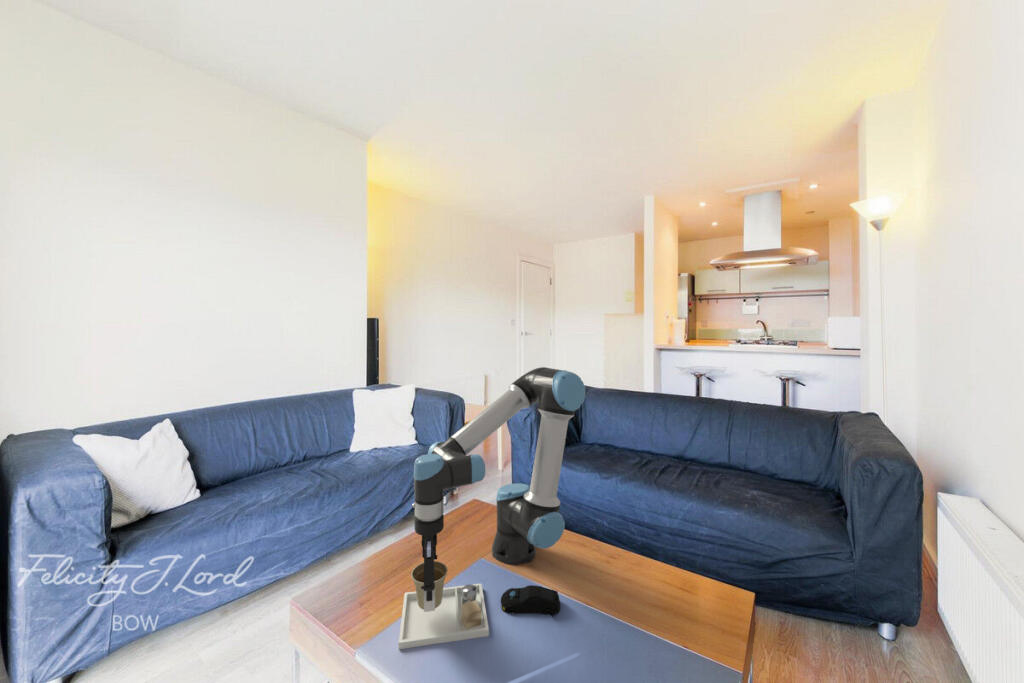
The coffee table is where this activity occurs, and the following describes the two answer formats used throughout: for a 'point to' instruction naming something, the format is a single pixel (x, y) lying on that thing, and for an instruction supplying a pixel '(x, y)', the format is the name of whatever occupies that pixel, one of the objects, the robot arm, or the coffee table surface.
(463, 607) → the beech part
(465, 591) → the metal part
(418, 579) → the flower pot
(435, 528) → the robot arm
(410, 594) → the tray
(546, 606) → the toy car
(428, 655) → the coffee table surface
